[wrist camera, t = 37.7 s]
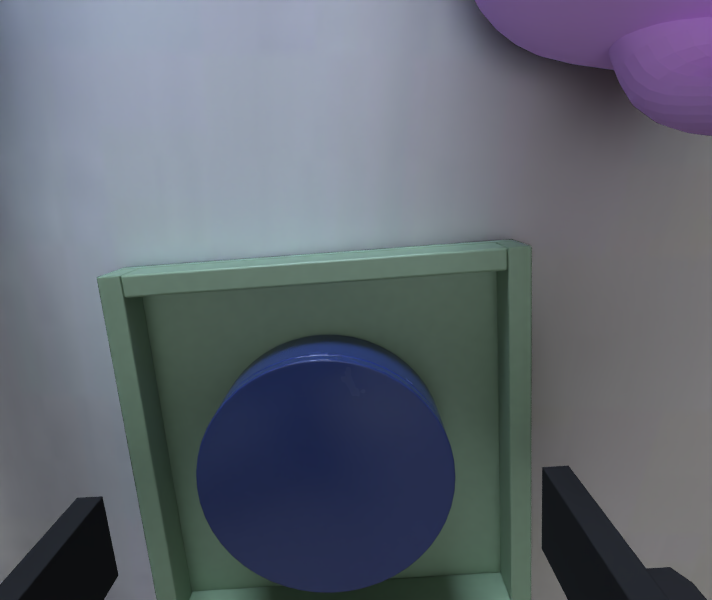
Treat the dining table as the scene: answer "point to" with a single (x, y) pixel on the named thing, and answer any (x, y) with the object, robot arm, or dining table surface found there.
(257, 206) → the dining table surface
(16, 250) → the dining table surface
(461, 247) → the tray
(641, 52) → the teapot
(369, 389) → the lid
